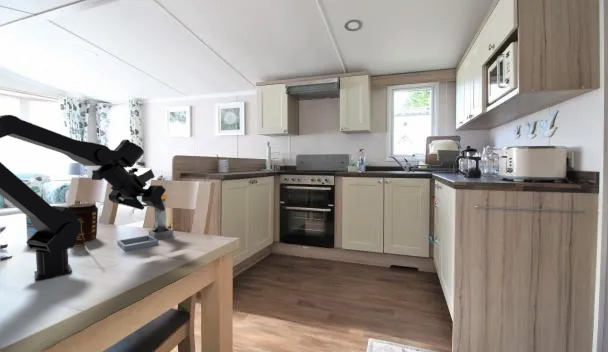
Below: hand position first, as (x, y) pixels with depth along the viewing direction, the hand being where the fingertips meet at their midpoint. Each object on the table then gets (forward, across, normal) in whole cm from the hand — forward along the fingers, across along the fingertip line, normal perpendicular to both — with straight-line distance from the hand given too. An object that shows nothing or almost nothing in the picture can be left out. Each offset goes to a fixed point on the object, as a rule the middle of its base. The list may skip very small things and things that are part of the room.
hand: (153, 209), depth 94 cm
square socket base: (+10, 0, +5) cm, 12 cm away
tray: (+2, -1, +13) cm, 13 cm away
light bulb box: (-1, +33, +16) cm, 37 cm away
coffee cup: (+1, +21, +14) cm, 25 cm away
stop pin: (+9, 0, +5) cm, 10 cm away
